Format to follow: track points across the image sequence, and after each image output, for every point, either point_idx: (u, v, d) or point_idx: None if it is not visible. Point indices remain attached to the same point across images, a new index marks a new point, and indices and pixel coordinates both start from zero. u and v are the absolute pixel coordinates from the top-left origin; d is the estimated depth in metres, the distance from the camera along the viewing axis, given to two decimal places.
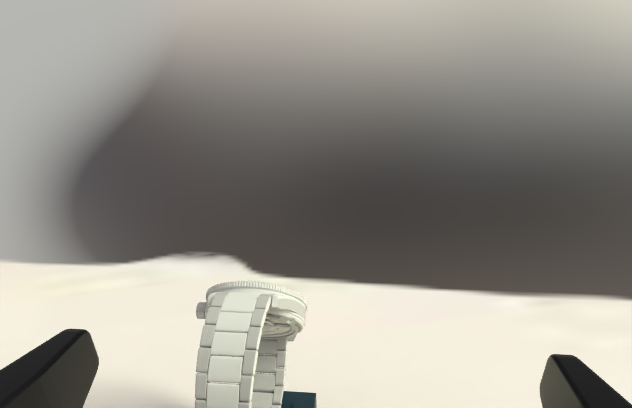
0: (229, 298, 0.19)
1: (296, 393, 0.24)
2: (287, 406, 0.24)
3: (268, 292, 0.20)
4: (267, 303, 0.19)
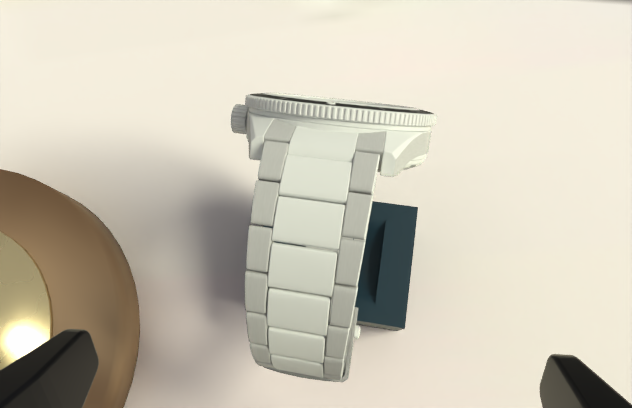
0: (294, 158, 0.09)
1: (388, 204, 0.17)
2: (376, 224, 0.17)
3: (370, 129, 0.10)
4: (374, 177, 0.09)
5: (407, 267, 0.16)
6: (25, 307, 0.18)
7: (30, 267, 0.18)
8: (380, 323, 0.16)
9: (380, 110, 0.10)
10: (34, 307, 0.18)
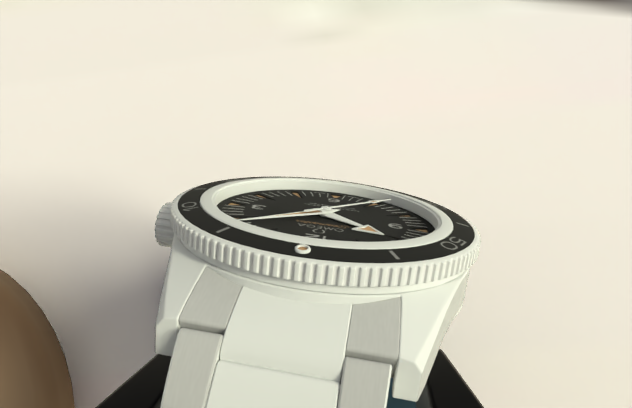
0: (231, 371, 0.05)
1: None
2: None
3: (374, 295, 0.05)
4: None
5: None
6: None
7: None
8: None
9: (391, 263, 0.05)
10: None
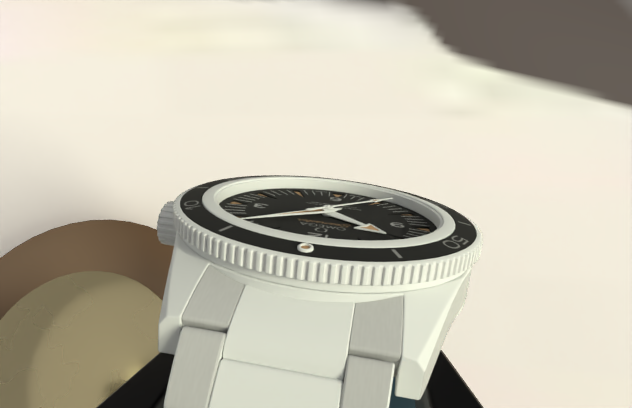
0: (234, 369, 0.05)
1: None
2: None
3: (376, 294, 0.05)
4: None
5: None
6: None
7: None
8: None
9: (394, 262, 0.05)
10: None
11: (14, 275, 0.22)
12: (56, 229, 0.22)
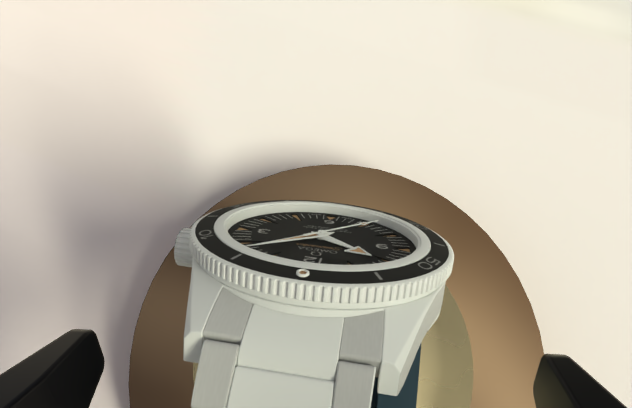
0: (246, 374, 0.06)
1: None
2: None
3: (362, 310, 0.07)
4: None
5: (413, 390, 0.13)
6: (446, 374, 0.16)
7: (462, 331, 0.16)
8: None
9: (375, 283, 0.07)
10: (456, 379, 0.16)
11: None
12: (334, 166, 0.19)
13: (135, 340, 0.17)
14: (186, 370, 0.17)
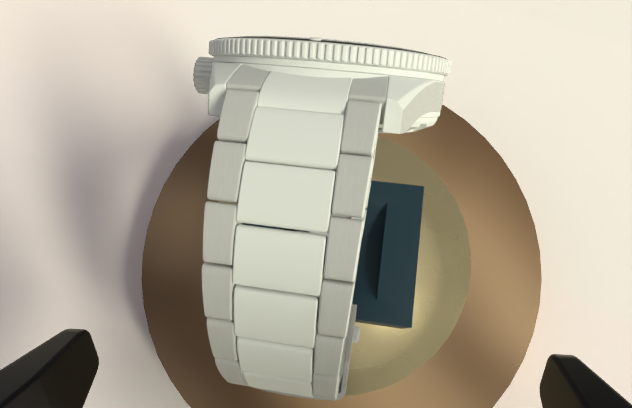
0: (266, 111, 0.07)
1: (390, 184, 0.14)
2: (376, 206, 0.14)
3: (368, 73, 0.07)
4: (375, 133, 0.07)
5: (413, 256, 0.14)
6: (445, 264, 0.17)
7: (460, 225, 0.17)
8: (383, 322, 0.13)
9: (381, 47, 0.07)
10: (455, 268, 0.17)
11: None
12: None
13: (148, 239, 0.18)
14: (196, 265, 0.18)
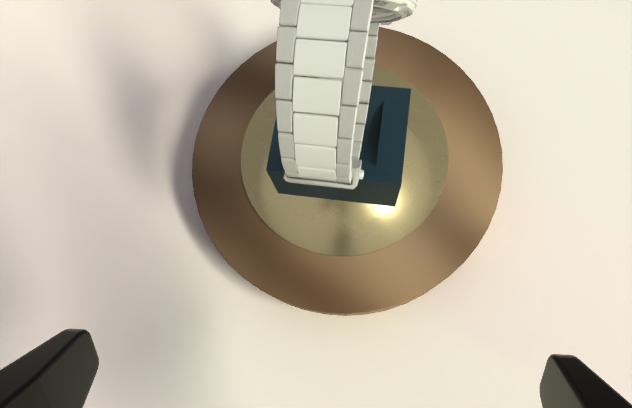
0: None
1: (386, 87, 0.19)
2: (375, 104, 0.19)
3: None
4: None
5: (403, 136, 0.19)
6: (428, 159, 0.22)
7: (440, 131, 0.22)
8: (380, 182, 0.18)
9: None
10: (436, 163, 0.22)
11: None
12: None
13: (196, 147, 0.23)
14: (235, 166, 0.23)
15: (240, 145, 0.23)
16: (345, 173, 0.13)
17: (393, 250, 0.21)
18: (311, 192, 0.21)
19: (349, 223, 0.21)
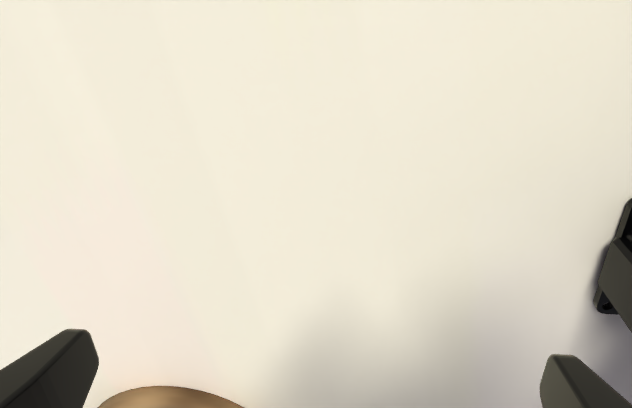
0: None
1: None
2: None
3: None
4: None
5: None
6: None
7: None
8: None
9: None
10: None
11: None
12: None
13: None
14: None
15: None
16: None
17: None
18: None
19: None
